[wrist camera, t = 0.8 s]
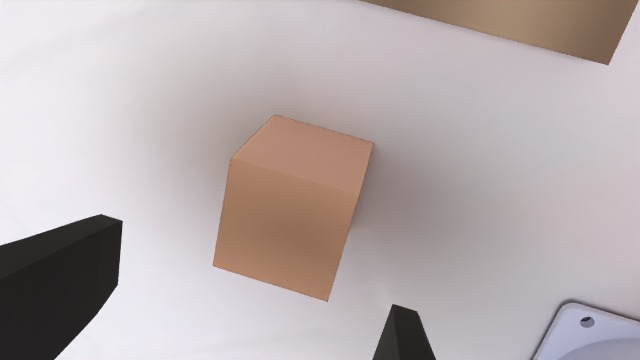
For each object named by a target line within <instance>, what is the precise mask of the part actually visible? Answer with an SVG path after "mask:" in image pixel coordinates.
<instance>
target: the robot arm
mask: <svg viewBox="0 0 640 360" xmlns="http://www.w3.org/2000/svg"><path fill="white" fill-rule="evenodd" d="M122 224H123V221H121V220H118V219H115V218H111V217H108V216H105V215H102V214H100V215H96V216H93V217H89V218H86V219H83V220H79V221H76V222H73V223H70V224H67V225H64V226H61V227H58V228H55V229H52V230H49V231H46V232H43V233H40V234H37V235H34V236H31V237H28V238H25V239H21V240H18V241H14V242H11V243H8V244H4V245H1V246H0V360H54V359H55V358H56V357H57V356H58V355H59V354H60V353H61V352H62V351H63V350H64V349H65V348H66V347H67V346H68V345H69V344H70V343H71V342H72V340H73V339H74V338H75V337H76V336H77V335H78V334H79V333H80V332H81V331H82V330H83V329H84V328H85V327H86V326H87V324H88V323H89V322H90V321H91V320H92V319H93V318H94V317H95V316H96V314H97V313H98V312H99V310H100V309H101V308H102V306H103V305H104V304H105V302H106V301H107V299H108V298H109V297H110V295H111V294H112V292H113V291H114V289H115V288H116V287H117V285H118V276H119V263H120V250H121V237H122ZM584 317H591V319H590V320H589V321H586V322H583V321H580V320H581V319H582V318H584ZM373 360H436V358H435V356H434V353H433V351H432V349H431V346H430V344H429V341H428V338H427V336H426V333H425V331H424V328H423V325H422V322H421V319H420V316H419V315H418V313H417V311H414V310H411V309H408V308H404V307H401V306H398V305H395V304H392V307H391V310H390V313H389V316H388V318H387V321H386V324H385V327H384V329H383V332H382V335H381V338H380V340H379V343H378V346H377V349H376V351H375V354H374V357H373ZM533 360H640V322H638V321H635V320H632V319H628V318H625V317H622V316H618V315H615V314H611V313H608V312H605V311H601V310H598V309H595V308H591V307H588V306H585V305H581V304H578V303H568V304H566V305H564V306H562V307H561V309H560V310H559V312H558V314H557V316H556V317H555V319H554V321H553V323H552V325H551V327H550V329H549V330H548V332H547V334H546V336H545V338H544V340H543V342H542V343H541V345H540V347H539V349H538V351H537V353H536V355H535V356H534V358H533Z"/></svg>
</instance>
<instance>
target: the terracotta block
mask: <svg viewBox="0 0 640 360" xmlns="http://www.w3.org/2000/svg"><path fill="white" fill-rule="evenodd" d="M373 144H374V143H372V142H369V141H365V140H362V139H358V138H355V137H351V136H348V135H344V134H341V133H337V132H334V131H330V130H327V129H323V128H320V127H316V126H313V125H309V124H306V123H302V122H299V121H295V120H292V119H288V118H284V117H281V116H277V115H274V116H273V117H272V118H271V119H270V120H269V121H268V122H267V123H266V124H265V125H264V126H263V127H262V128H260V129H259V130H258V131H257V132H256V133H255V134H254V135H253V136H252V137H251V138H250V139H249V140H248V141H247V142H246V143H245V144H244V145H243V146H242V147H241V148H240V149H239V150H238V151H237V152H236V153H235V154H234V155H233V156H232V157H231V160H230V166H229V172H228V178H227V184H226V190H225V196H224V201H223V207H222V213H221V219H220V225H219V231H218V237H217V242H216V248H215V254H214V260H213V266H214V267H218V268H221V269H224V270H227V271H230V272H234V273H237V274H240V275H243V276H247V277H250V278H253V279H256V280H259V281H263V282H266V283H269V284H272V285H275V286H279V287H282V288H285V289H288V290H291V291H295V292H298V293H301V294H304V295H308V296H311V297H314V298H317V299H320V300H324V301H327V302H328V299H329V296H330V292H331V289H332V286H333V282H334V279H335V276H336V272H337V269H338V265H339V262H340V259H341V255H342V252H343V248H344V245H345V242H346V238H347V235H348V232H349V228H350V225H351V221H352V218H353V215H354V211H355V208H356V205H357V201H358V198H359V194H360V191H361V187H362V184H363V180H364V176H365V173H366V169H367V166H368V162H369V158H370V155H371V151H372V148H373Z"/></svg>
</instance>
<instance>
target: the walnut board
mask: <svg viewBox="0 0 640 360" xmlns="http://www.w3.org/2000/svg"><path fill="white" fill-rule="evenodd" d="M360 1H364V2H368V3H372V4H376V5H380V6H383V7H387V8H391V9H395V10H399V11H402V12H406V13H410V14H414V15H418V16H422V17H425V18H429V19H433V20H437V21H441V22H445V23H448V24H452V25H456V26H460V27H464V28H468V29H471V30H475V31H479V32H483V33H487V34H491V35H494V36H498V37H502V38H506V39H510V40H513V41H517V42H521V43H525V44H529V45H533V46H536V47H540V48H544V49H548V50H552V51H556V52H559V53H563V54H567V55H571V56H575V57H579V58H582V59H586V60H590V61H594V62H598V63H602V64H605V65H609V63H610V61H611V58H612V56H613V54H614V52H615V50H616V48H617V46H618V43H619V41H620V39H621V37H622V35H623V33H624V31H625V28H626V26H627V24H628V22H629V20H630V18H631V16H632V13H633V11H634V9H635V7H636V5H637V3H638V1H639V0H360Z"/></svg>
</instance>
